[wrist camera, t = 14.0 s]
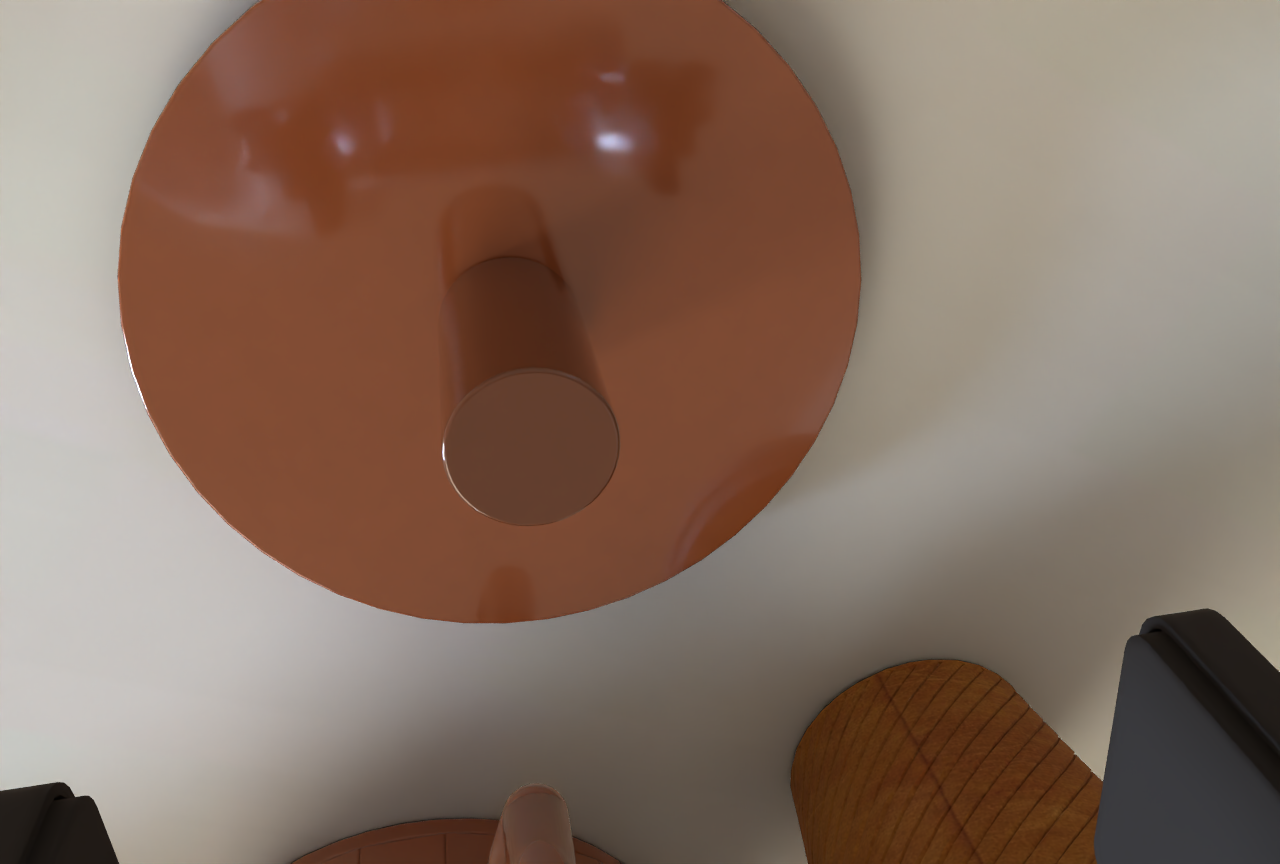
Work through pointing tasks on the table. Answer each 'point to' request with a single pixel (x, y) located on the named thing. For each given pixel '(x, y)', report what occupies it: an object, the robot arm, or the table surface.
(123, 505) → the table surface
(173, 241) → the lid
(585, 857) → the brown hollow round container
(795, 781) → the disposable coffee cup
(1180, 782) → the robot arm
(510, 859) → the teapot spout handle
